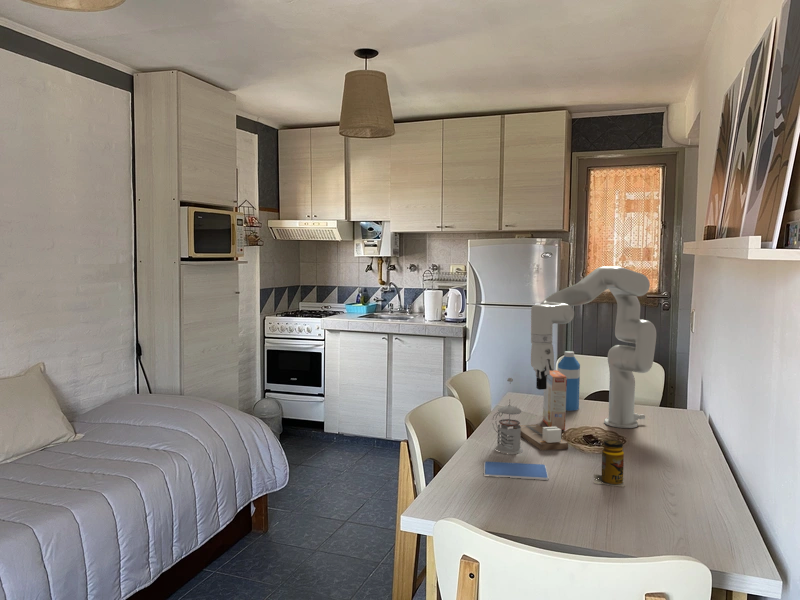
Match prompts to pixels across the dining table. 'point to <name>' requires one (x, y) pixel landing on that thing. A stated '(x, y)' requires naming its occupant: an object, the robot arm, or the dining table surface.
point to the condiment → (612, 464)
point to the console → (540, 438)
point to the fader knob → (551, 434)
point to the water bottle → (571, 379)
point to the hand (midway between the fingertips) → (541, 388)
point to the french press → (509, 430)
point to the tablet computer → (516, 470)
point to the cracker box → (555, 400)
